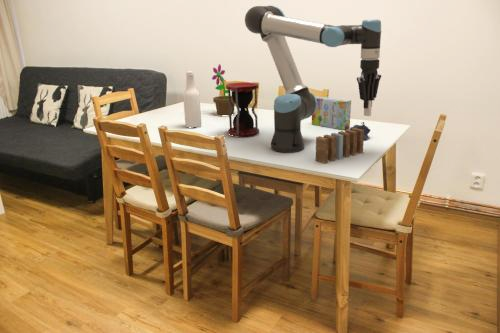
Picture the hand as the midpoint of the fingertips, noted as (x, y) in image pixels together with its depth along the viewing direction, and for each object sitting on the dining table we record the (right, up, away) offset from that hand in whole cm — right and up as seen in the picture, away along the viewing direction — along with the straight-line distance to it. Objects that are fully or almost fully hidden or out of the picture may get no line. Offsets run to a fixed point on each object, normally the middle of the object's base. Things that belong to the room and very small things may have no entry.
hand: (367, 115), depth 189 cm
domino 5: (-7, -16, 0) cm, 18 cm away
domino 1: (-21, -20, -9) cm, 30 cm away
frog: (+2, -9, +23) cm, 25 cm away
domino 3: (-14, -18, -4) cm, 23 cm away
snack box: (-7, -1, +47) cm, 47 cm away
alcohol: (-81, 0, +55) cm, 98 cm away
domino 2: (-18, -19, -7) cm, 27 cm away
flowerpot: (-65, +10, +84) cm, 107 cm away
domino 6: (-4, -15, +2) cm, 16 cm away
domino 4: (-11, -17, -2) cm, 20 cm away
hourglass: (-54, -5, +38) cm, 66 cm away
